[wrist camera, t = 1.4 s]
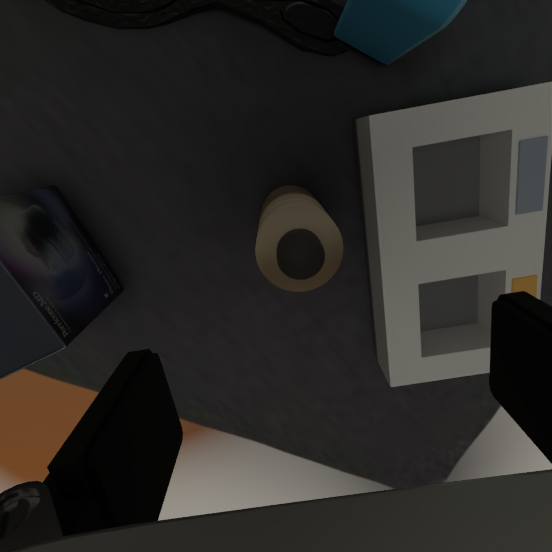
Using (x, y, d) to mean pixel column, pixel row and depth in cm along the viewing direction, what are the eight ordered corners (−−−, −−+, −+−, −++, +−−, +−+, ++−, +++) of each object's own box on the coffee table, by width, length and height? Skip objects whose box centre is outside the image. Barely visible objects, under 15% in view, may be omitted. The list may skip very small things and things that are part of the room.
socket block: (353, 119, 29) (369, 115, 24) (512, 90, 28) (562, 79, 23) (375, 355, 36) (391, 388, 31) (502, 335, 35) (538, 366, 31)
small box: (129, 289, 34) (70, 350, 24) (71, 317, 34) (-10, 388, 25) (57, 181, 30) (-47, 200, 20) (-6, 216, 31) (-135, 251, 21)
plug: (255, 190, 31) (245, 219, 19) (315, 179, 30) (341, 202, 19) (266, 247, 32) (263, 306, 21) (323, 238, 32) (352, 292, 21)
